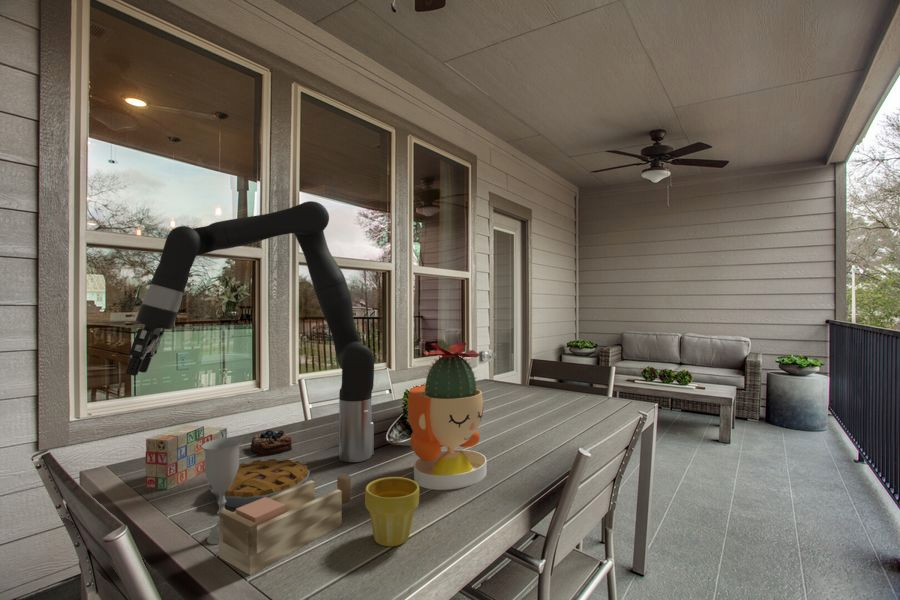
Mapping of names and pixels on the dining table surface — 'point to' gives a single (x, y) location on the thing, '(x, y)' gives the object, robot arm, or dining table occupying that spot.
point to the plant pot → (391, 508)
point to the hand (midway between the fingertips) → (136, 373)
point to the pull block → (271, 508)
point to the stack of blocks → (178, 454)
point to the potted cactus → (447, 422)
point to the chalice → (221, 472)
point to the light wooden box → (278, 528)
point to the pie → (263, 481)
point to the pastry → (271, 443)
